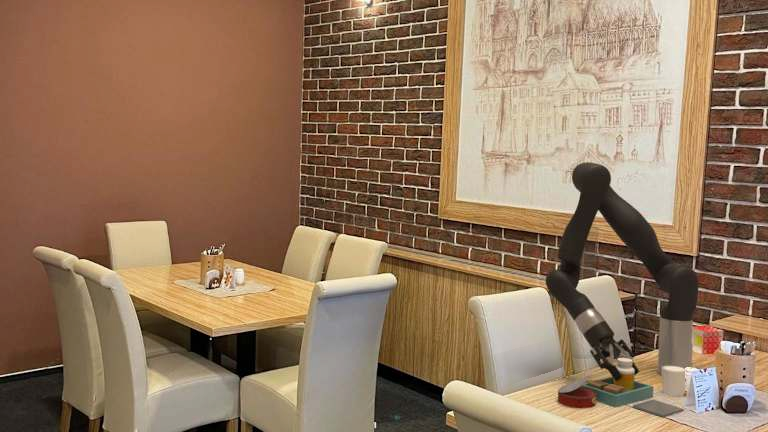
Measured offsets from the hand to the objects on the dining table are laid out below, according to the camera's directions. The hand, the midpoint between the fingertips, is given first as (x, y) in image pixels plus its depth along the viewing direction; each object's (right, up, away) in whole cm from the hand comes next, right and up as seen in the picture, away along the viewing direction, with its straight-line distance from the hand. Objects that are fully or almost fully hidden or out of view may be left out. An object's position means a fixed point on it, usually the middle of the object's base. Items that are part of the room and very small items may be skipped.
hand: (628, 376), depth 205 cm
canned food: (-16, -6, -6) cm, 18 cm away
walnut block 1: (-9, -5, -2) cm, 10 cm away
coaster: (+4, -6, -11) cm, 13 cm away
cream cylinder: (+14, -5, +3) cm, 15 cm away
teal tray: (-4, -5, 0) cm, 6 cm away
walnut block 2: (-6, -6, -5) cm, 10 cm away
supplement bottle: (-1, -5, +1) cm, 6 cm away
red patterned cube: (+43, -2, +51) cm, 67 cm away
